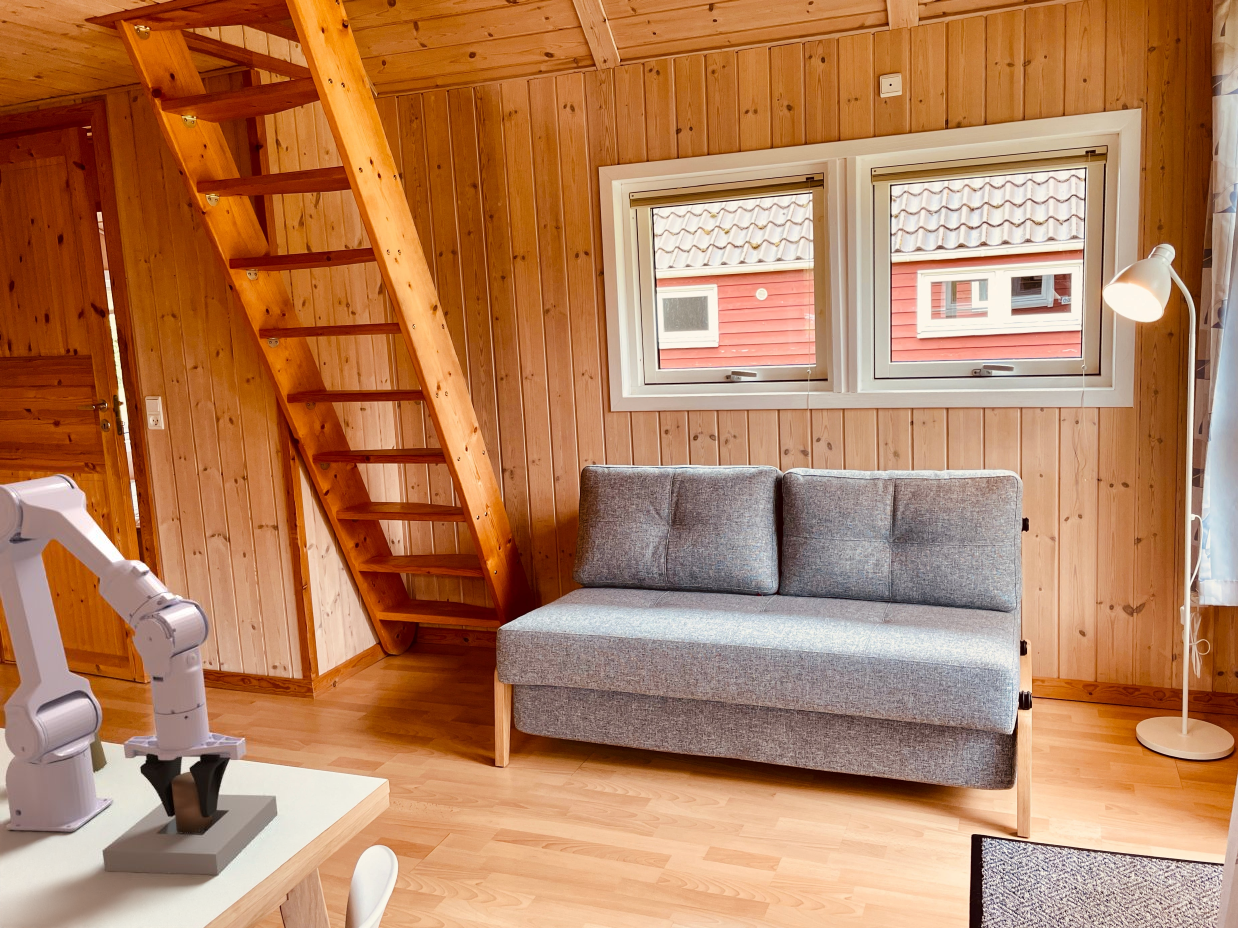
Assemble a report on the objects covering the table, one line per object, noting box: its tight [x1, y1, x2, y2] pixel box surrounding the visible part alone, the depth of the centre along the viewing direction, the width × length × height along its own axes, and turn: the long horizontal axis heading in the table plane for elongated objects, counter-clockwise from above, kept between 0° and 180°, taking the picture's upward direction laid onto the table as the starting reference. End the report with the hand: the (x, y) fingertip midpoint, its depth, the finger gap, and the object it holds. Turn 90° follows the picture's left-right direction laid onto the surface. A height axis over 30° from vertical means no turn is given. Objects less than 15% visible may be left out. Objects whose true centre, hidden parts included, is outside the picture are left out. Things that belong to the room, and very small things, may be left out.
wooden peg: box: [171, 771, 212, 835], centre depth 119 cm, size 4×4×6 cm
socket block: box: [102, 794, 278, 876], centre depth 119 cm, size 14×14×2 cm
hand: (192, 813), depth 119 cm, fingers closed on wooden peg, 4 cm apart
